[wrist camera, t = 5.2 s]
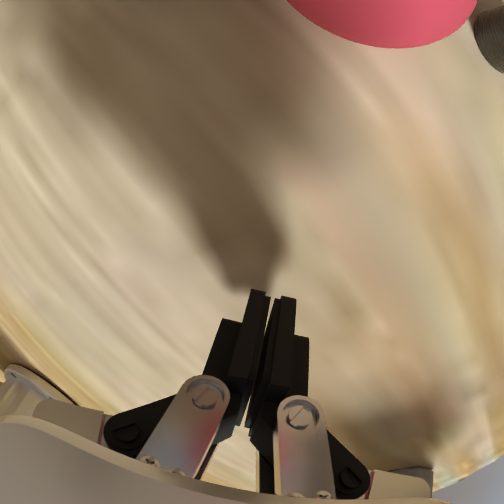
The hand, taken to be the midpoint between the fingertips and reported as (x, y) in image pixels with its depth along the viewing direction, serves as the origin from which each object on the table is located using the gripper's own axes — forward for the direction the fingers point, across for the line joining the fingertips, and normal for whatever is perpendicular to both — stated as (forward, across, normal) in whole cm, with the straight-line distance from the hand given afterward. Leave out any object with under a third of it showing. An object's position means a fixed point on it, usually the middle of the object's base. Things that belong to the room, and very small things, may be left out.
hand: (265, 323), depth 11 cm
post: (+2, -6, -13) cm, 15 cm away
